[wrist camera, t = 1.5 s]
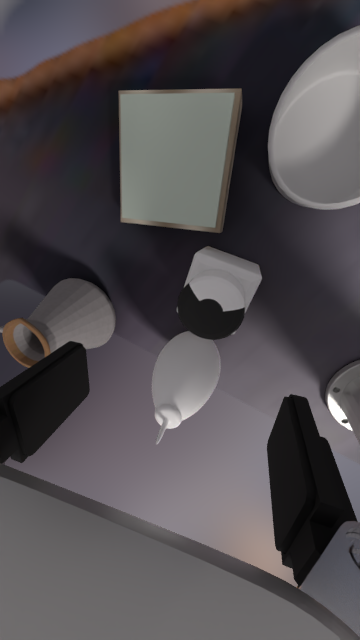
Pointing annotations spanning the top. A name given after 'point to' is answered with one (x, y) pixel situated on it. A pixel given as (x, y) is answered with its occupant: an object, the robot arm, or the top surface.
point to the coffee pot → (61, 322)
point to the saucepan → (320, 128)
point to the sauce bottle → (183, 378)
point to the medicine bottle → (217, 293)
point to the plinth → (177, 156)
